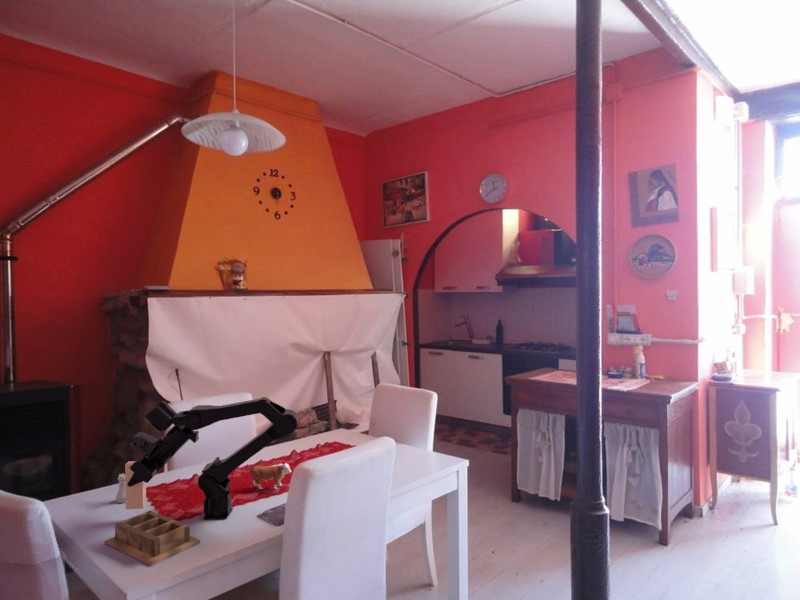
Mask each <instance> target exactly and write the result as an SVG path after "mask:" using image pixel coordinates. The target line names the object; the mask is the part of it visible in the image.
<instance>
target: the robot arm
mask: <svg viewBox="0 0 800 600" xmlns="http://www.w3.org/2000/svg"><path fill="white" fill-rule="evenodd" d="M258 414H261V415H263V416H264V418H266V419H267V420H268V421H269V422H270V424H269V425H268V426H267V427H266V428H265V429H264V430H263V431H261V432H260V433H259V434H257V435H256V436H254V437H253V438H252V439H251V440H249V441H248V442H246V443H245V444H243V445H241V447H240V448H238V449H237V450H235V451H234V452H233V453H231V454H230V455H228V456H227V457H225V458H223V459H220V457H219V456H216V457H215V458H214V460H212V461H211V462H209V463H207V464H206V465H205V466H204V467H203V469H202V471H201V474H200V475H199V477H198V479H197V485H198V486H197V487H198V488H199V489H200V490H201V491H202V492H203V493H204V494H203V495H204V496H205V498H204V500H203V515H204V516H203V519H204V520H226V519H228V517H229V516H230V515H231V513H232V512H233V511H234V510H233V507H232V490H229V488H230V486H231V484H232V483H231V482H232V479H230V478H229V477H228V476H229V475H231V473H233V471H234V470H236V469H237V468H239V467H240V466H242V465H243V464H244V463H245V462H247V461H248V460H250V459H251V458H252V457H254V456H255V455H256V454H257V453H259V452H260V451H262V450H263V449H265V448H266V447H268V446H269V445H270V444H271V443H273V442H275V441H277V440H280V439H283V438H285V437H287V436H289V435H291V434H293V433H294V432H295V431H296V429H297V427H298V422H299V416H298V414H297V412H296V411H294V410H292V409H287V408H286V407H284V406H282V405H280V404H278V403H277V402H273V400H270V399H269V398H268V397H265V396H262V397H260V398H256V399H251V400H244V401H240V402H234V403H229V404H223V405H212V404H203V405H200V404H198V405H195V406H193V407H191V409H189V410H188V409H187V410H183V411H178V413H177V412H176V410H174V408H172V407H171V406H170V405H169V404H168V402H166V401H165V400H163V401H160V403H159V404H157V406H155V407H154V408H153V409H151V410H150V411H149V412H148V413H146V415H145V416H144V418H143V419H144V420H145V422H147V423H148V424H149V425H150V426H152V427H153V428H154V429H155V430H156V431H157V432H159V433H160V432H162V431H163V432H166V431H167V430H168V429H169V428H170V427H171V426H172V425H174V426H172V427H171V428H170V429H169V430H168V431H167V432H166V433H165V434H164V435H162V436H161V437H160V438H157V437H154V436H153V435H150V434H148V433H145V432H142V431H139V432H137V433H136V434H135V435H134V437H133V439H131V441H130V445H129V446H130V448H132V449H137V450H139V451H141V452H144V453H143V456H142V457H139V458H137V459H136V460H134V461H135V462H134V463H133V464H132V465H131V466H130V469H131V470H132V471H133V472H134V474H133V476H132V477H131V479H130V480H129V482H128V483H127V485H128V486H129V487H131V486H133V485H136V484H138V483H140V482H143V481H144V482H146V484H148V483H149V482H150V481H151V480H152V479H153V478H154V477H155V476H156V475H157V473H158V472H159V471H160V470H162V468H163V466H164V465H167V463H168V462H170V460H171V459H172V458H173V456H174V455H176V453H177V452H178V451H179V450H180V449H181V448H183V446H185V444H186V443H187V442H188V441H189V440H190V441H191V442H192V443H193V444H195V443H197V442H198V441H199V439H200V438H199V433H200V432H199V430H200V429H204V428H206V427H208V426H210V425H213V424H216V423H218V422H221V421H225V420H230V419H236V418H241V417H247V416H252V415H258Z"/></svg>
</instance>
